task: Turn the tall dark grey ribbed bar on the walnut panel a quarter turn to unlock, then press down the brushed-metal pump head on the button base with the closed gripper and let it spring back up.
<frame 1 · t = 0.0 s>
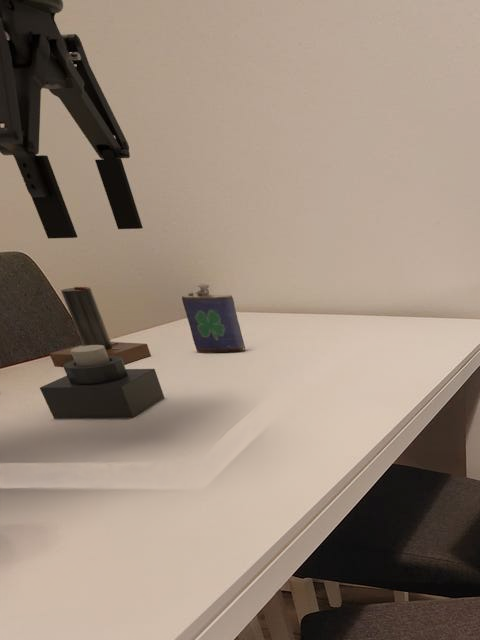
hand: (99, 233, 65), 20 cm above the table, tool pointing down, fingers open, 13 cm apart
dark grey ribbed bar: (87, 318, 100), point 7 cm above the table, hinge at 0.0°
dial panel: (103, 360, 104), on the table
pump: (90, 356, 77), point 7 cm above the table, slide at 0.1 cm
button base: (111, 408, 82), on the table
flask: (221, 352, 108), on the table
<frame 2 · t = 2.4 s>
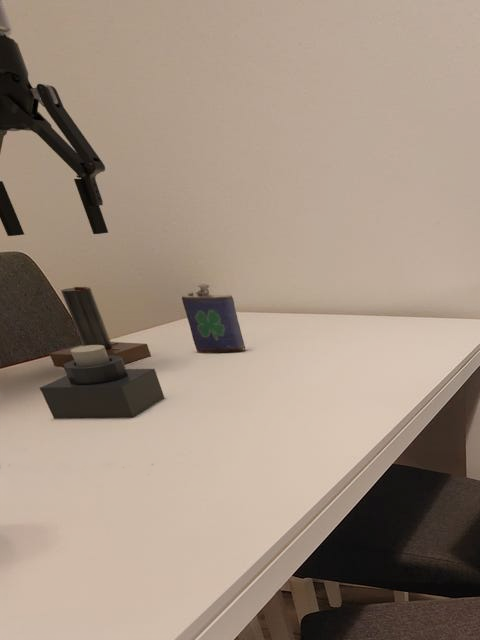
hand: (58, 234, 89), 19 cm above the table, tool pointing down, fingers open, 13 cm apart
nothing on the table moved.
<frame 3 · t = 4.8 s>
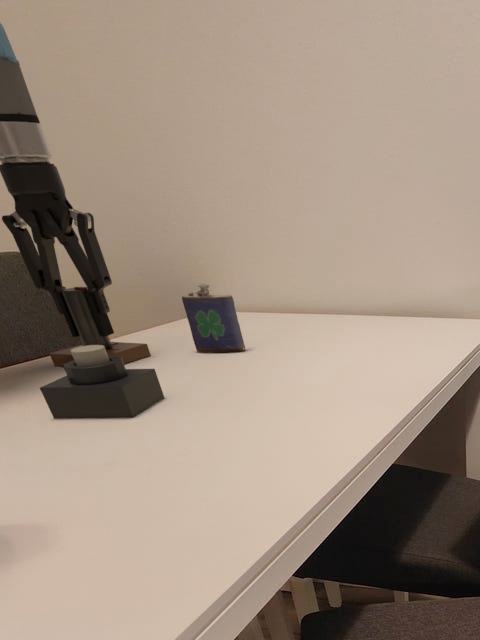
hand: (93, 334, 102), 4 cm above the table, tool pointing down, fingers closed on dark grey ribbed bar, 4 cm apart
dark grey ribbed bar: (87, 318, 100), point 7 cm above the table, hinge at 0.0°, touching gripper
everything else where it was.
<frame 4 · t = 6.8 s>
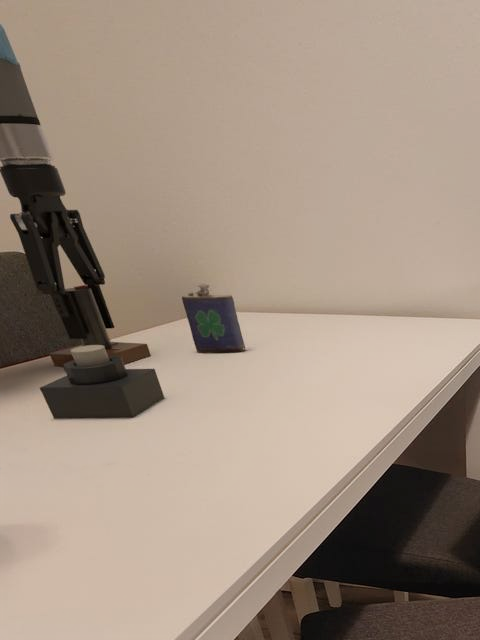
hand: (92, 332, 101), 4 cm above the table, tool pointing down, fingers open, 8 cm apart
dark grey ribbed bar: (87, 318, 100), point 7 cm above the table, hinge at 90.1°
everything else where it was.
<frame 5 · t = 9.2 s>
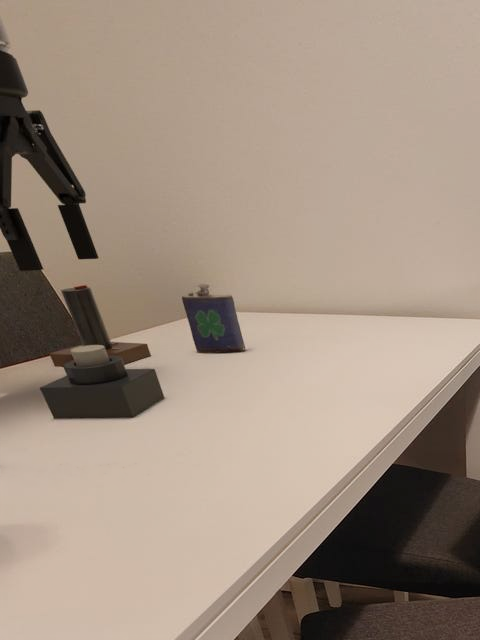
hand: (62, 264, 82), 16 cm above the table, tool pointing down, fingers open, 13 cm apart
nothing on the table moved.
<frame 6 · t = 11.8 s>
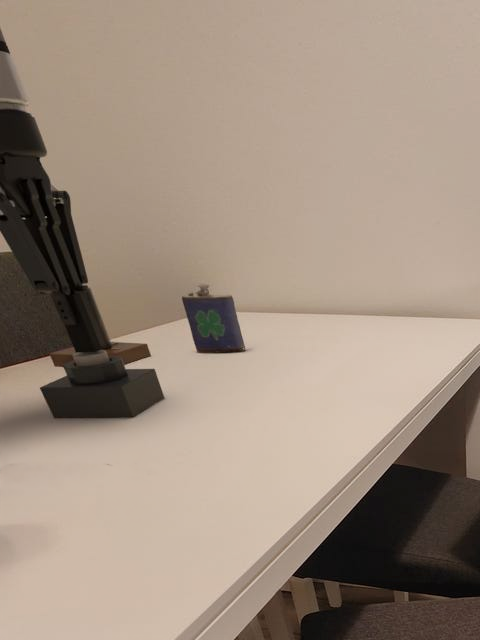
hand: (89, 350, 77), 7 cm above the table, tool pointing down, fingers closed
pump: (92, 361, 78), point 6 cm above the table, slide at -0.5 cm, touching gripper
everything else where it was.
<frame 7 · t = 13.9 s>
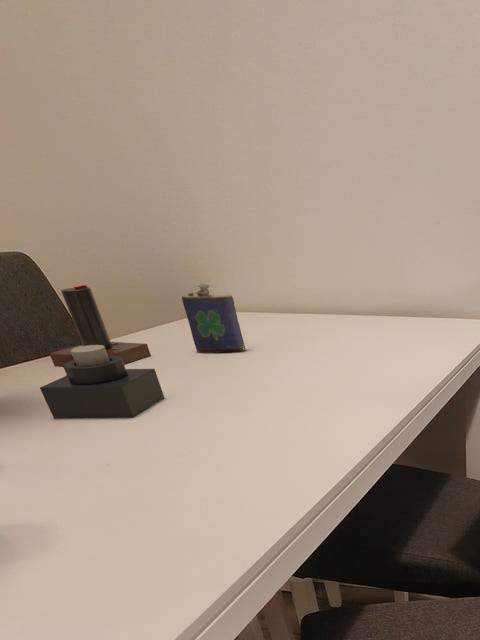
pump: (90, 356, 77), point 7 cm above the table, slide at 0.1 cm
everything else where it was.
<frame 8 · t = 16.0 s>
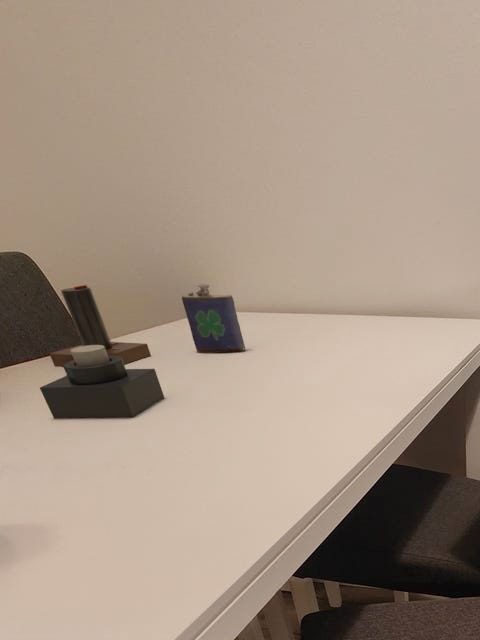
nothing on the table moved.
at the end: dark grey ribbed bar at +90° (first picture: +0°); pump pushed in 1.2 cm at the most during the clip, back to where it started at the end; pump slide at 0.1 cm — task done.
